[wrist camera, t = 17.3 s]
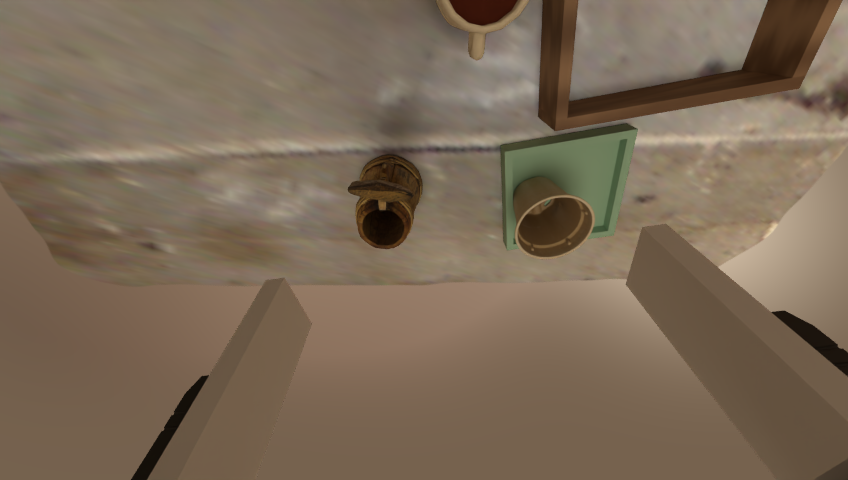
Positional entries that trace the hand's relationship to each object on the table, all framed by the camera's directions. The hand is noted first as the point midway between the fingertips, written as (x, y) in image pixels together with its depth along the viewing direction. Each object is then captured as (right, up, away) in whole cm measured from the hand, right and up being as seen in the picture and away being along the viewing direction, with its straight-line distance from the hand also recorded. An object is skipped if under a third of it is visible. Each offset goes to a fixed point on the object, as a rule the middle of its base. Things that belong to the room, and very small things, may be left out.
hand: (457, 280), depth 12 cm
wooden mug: (-6, +11, +31) cm, 34 cm away
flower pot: (+15, +8, +33) cm, 36 cm away
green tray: (+18, +9, +33) cm, 39 cm away
